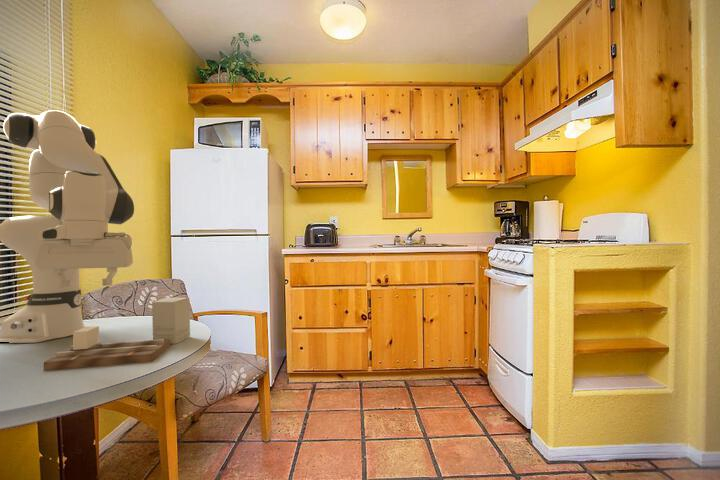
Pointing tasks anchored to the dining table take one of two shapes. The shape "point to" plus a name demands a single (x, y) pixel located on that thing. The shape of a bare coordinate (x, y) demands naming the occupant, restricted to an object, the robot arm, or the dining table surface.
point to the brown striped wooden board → (109, 354)
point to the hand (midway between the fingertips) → (86, 286)
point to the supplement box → (171, 319)
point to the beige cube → (86, 339)
